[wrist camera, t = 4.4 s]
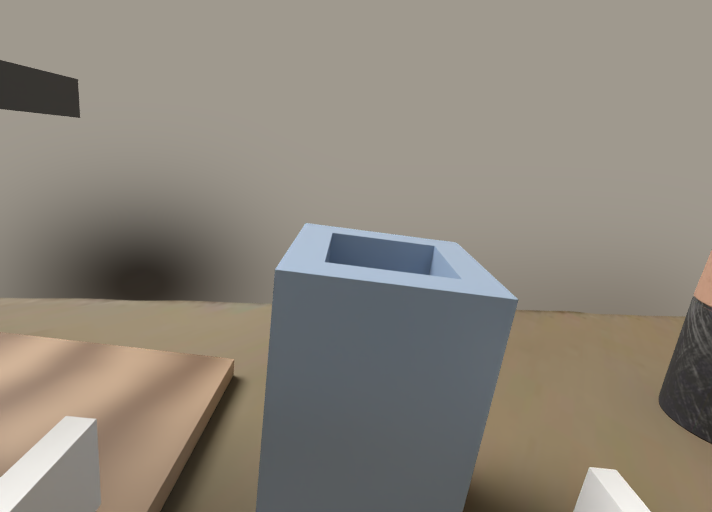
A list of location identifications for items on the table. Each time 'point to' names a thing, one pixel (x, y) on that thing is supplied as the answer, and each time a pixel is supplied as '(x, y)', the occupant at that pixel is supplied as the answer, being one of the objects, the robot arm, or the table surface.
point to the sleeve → (378, 373)
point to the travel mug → (693, 365)
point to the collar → (37, 91)
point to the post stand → (111, 409)
